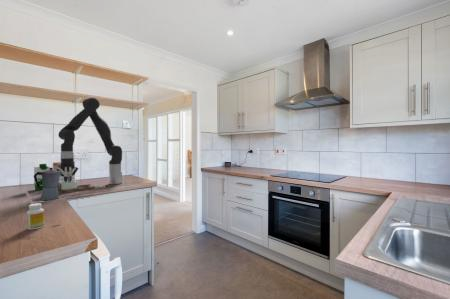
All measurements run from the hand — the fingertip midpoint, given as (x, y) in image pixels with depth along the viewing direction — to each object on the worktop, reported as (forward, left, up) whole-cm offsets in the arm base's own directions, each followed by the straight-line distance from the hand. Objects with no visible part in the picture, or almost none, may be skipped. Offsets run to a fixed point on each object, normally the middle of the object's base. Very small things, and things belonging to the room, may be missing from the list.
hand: (67, 181), depth 155 cm
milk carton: (+12, -21, -8) cm, 25 cm away
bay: (-4, 0, -8) cm, 9 cm away
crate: (0, 0, -7) cm, 7 cm away
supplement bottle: (+23, +70, -8) cm, 74 cm away
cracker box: (-1, -19, -8) cm, 21 cm away
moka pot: (+12, +17, -8) cm, 22 cm away
